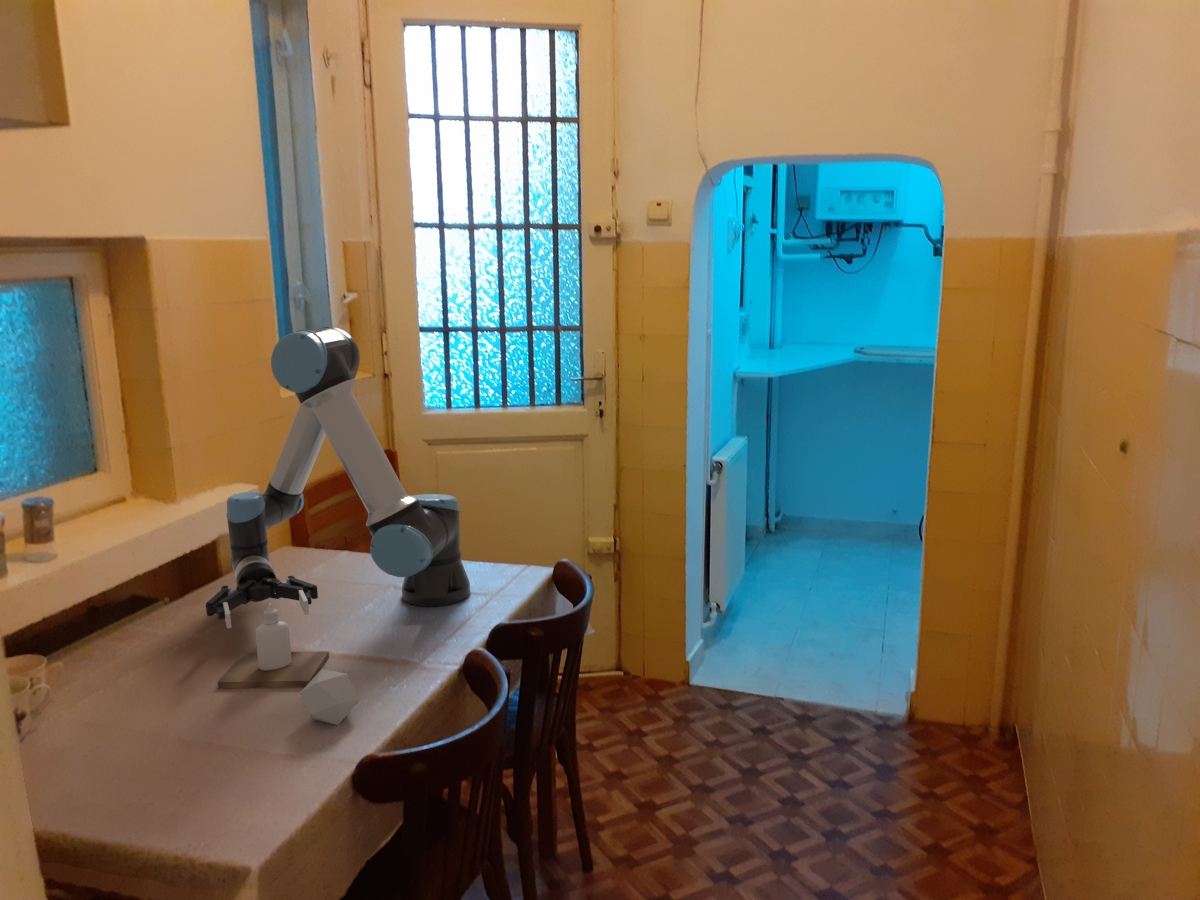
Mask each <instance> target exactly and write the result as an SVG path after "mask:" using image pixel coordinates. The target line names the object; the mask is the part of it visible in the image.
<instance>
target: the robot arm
mask: <svg viewBox="0 0 1200 900" xmlns="http://www.w3.org/2000/svg"><path fill="white" fill-rule="evenodd" d="M360 359H361V354H360V349H359V346H358V344H357V342H356V341H355V338H354V337H352V336H351V334H350V333H348V332H347V331H345V330H343V329H341V328H338V327H335V326H334V327H333V326H324V327H319V328H313V329H299V330H296V331H294V332H291V333H288V334H286V335H284V336H283V337H282V338H280V340H278V341H277V343H276V344H275V346H274V348H273V351H272V355H271V357H270V367H271V372H272V375H273V377H274V379H275V380H276V382H277V383H278V384H279V385H280V386H281V387H282V388H283V389H285V390H287V391H289V392H291V393H295V395H296V398H297V400H298V401H299V403H300V404H299V407H298V408H297V411H296V414H295V417H294V418H293V422H292V424H291V427H290V429H289V432H288V435H287V437H286V439H285V442H284V444H283V447H282V450H280V451H281V452H280V454H279V457H278V459H277V462H276V463H275V466H274V470H273V472H272V474H271V477H270V480H269V481H268V484H267V487H266V489H265V491H264V493H260V492H256V491H243V492H239V493H234V494H232V495H230V496H229V497H228V498H227V500H226V518H227V527H228V529H227V530H228V536H229V545H230V547H229V548H230V561H229V562H230V569H231V571H232V573H233V575H234V578H235V583H236V587H235V588H231V587H229V586H228V585H222V586H221V589H220V591H218V592H217V593H216V594H214V596H212V597H211V598H210V599H209V600H207V602H206V603H205V610H206V612H205V613H206V617H212V616H214V615H216V616H217V620H225V624H226V628H227V629H232V628H233V627H232V619H231V617H232V616H231V611H232V610H234V609H236V608H239V606H241V605H247V604H249V603H250V602H252V603H253V602H254V603H257V602H263V601H265V600H268V599H275V600H280V599H281V598H283V599H288V600H294V601H299V602H298V603H299V605H300V607H301V609H302V612H303V614H304V615H309V614H310V613H309V612H310V611H309V605H312V600H316V599H318V598H319V596H318V595H319V593H318V592H319V591H318V585H316V584H314V583H310V582H307V581H304V580H301V579H298V578H296V577H295V576H294V575H288V576H287V578H286V579H285V580H280V579H278V578H277V576H276V574H275V573H276V572H275V571H274V568H273V567H272V564H271V562H270V555H269V543H268V530H270V529H271V528H273V527H275V526H278V525H279V524H281V523H283V522H285V521H288V520H290V519H292V518H293V517H295V516H296V515H297V514H299V513H300V512H301V511H302V509H303V507H304V504H305V498H304V494H303V492H304V489H305V487H306V484H307V482H308V479H309V477H310V475H311V472H312V470H313V467H314V465H315V463H316V460H317V458H318V456H319V454H320V450H321V448H322V445H323V443H324V441H325V439H326V437H327V438H328V440H329V442H330V444H331V446H332V448H333V450H334V451H335V453H336V456H337V457H338V459H339V461H340V463H341V464H342V466H343V468H344V470H345V472H346V474H347V476H348V477H349V479H350V481H351V483H352V485H353V487H354V489H355V490H356V493H357V495H358V496H359V498H360V500H361V502H362V504H363V506H364V508H365V509H366V511H367V513H368V517H367V520H366V523H365V525H366V528H367V529H368V531H369V533H370V535H371V536H372V537H371V541H370V546H369V550H370V556H371V559H372V561H373V562H374V564H375V565H376V566H377V568H378V569H380V570H381V571H382V572H384V573H385V574H387V575H389V576H390V575H391V576H393V577H396V578H403V582H402V586H401V597H402V600H403V601H404V602H406V603H407V604H409V605H413V606H418V607H440V606H441V607H442V606H447V605H452V604H456V603H458V602H461V601H463V600H464V599H466V598H468V597H469V595H470V593H471V583H470V580H469V577H468V574H467V572H466V570H465V569H466V568H465V567H464V564H463V561H462V554H461V551H462V549H461V526H460V525H461V523H460V521H461V519H460V512H461V510H460V508H459V507H460V506H459V500H458V499H457V497H455V496H453V495H449V494H442V493H440V494H439V493H429V494H428V493H425V494H415V495H409V494H408V493H407V492H406V490H405V489H404V486H403V485H402V482H401V481H400V479H399V477H398V475H397V474H396V471H395V470H394V468H393V466H392V464H391V462H390V460H389V458H388V457H387V453H385V450H384V449H383V447H382V445H381V443H380V441H379V440H378V437H377V435H376V433H375V431H374V430H373V428H372V426H371V424H370V422H369V421H368V418H367V417H366V415H365V413H364V411H363V408H362V407H361V406H360V403H359V402H358V400H357V398H356V396H355V394H354V392H353V389H354V385H355V382H356V380H355V379H356V377H357V373H358V371H359V367H360Z"/></svg>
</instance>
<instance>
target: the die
mask: <svg viewBox="0 0 1200 900" xmlns="http://www.w3.org/2000/svg"><path fill="white" fill-rule="evenodd" d="M299 695H300V697H301V699H302V701H303V703H304V705H305V707H306V709H307V712H308V713H309V716H310V717H311V718H312V720H315V721H319V722H322V723H328V724H331V725H335V726H339V725H340V724H341V723H342V721H343V720H344V719H346V717H347V716H348V715H349V713H350V712H351V711H352V710H353V709H354V707H355V706H356V705H357V704H358V703H359V702H360V697H359V695H358V694H357V692H356V690H355V688H354V686H353V683H352V682H351V679H350V678H349V676H348V673H345V672H339V671H335V670H330V669H326V668H322V669H321V670H320V671H319V672H318V674H317V675H316V676H315V677H314V678H313V679H312V680H311V681H310V682H309V684H308V685H307V686H306V687H303V688H302V690H301V691H300V692H299Z"/></svg>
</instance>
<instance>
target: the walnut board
mask: <svg viewBox="0 0 1200 900" xmlns="http://www.w3.org/2000/svg"><path fill="white" fill-rule="evenodd" d="M291 658H292V662H291V664H290V665H288V666H285V667H282V668H279V669H275V670H269V671H262V670H261V669H260V668H259V666H258V656H257V651H256V652H243V653H242V654H241V655H240V656H239V657H238V658H237V659H236V660H235V662H234V663H233V664H232V665H231V666H230V668H228V670H227V671H226V672H225V673H224V674H223V675H222V676H221V678H219V680H218V681H217V688H218V689H260V688H261V689H262V688H263V689H264V688H266V689H267V688H277V689H278V688H305V687H306V686H307V685H308V684H309V682H310V681H311V680H312V679H313V678H314V677H315V676H316V675H317V674H318V672H319V671H320V670H321V669H323V668H324V666H325V664H326V663H327V661H328V659H329V658H330V652H329V651H327V650H326V651H325V650H324V651H291Z"/></svg>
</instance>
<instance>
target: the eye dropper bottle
mask: <svg viewBox="0 0 1200 900" xmlns="http://www.w3.org/2000/svg"><path fill="white" fill-rule="evenodd" d="M263 622H264V623H262V624H260V625H259V626H258V627H256V629H255V641H256V642H255V643H256V652H257V656H258V666H259V668H260V669H261V670H262V671H269V670H275V669H279V668H282V667H285V666H288V665H290V664H291V662H292V658H291V652H292V648H291V646H292V645H291V638H290V627H289V625H288V623H287V622H285V621H283V620H279V611H278V609H277V608H274V607H273V603H272V602H271V603H270V602H269V603H268V604H267V609H265V610H264V611H263Z"/></svg>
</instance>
